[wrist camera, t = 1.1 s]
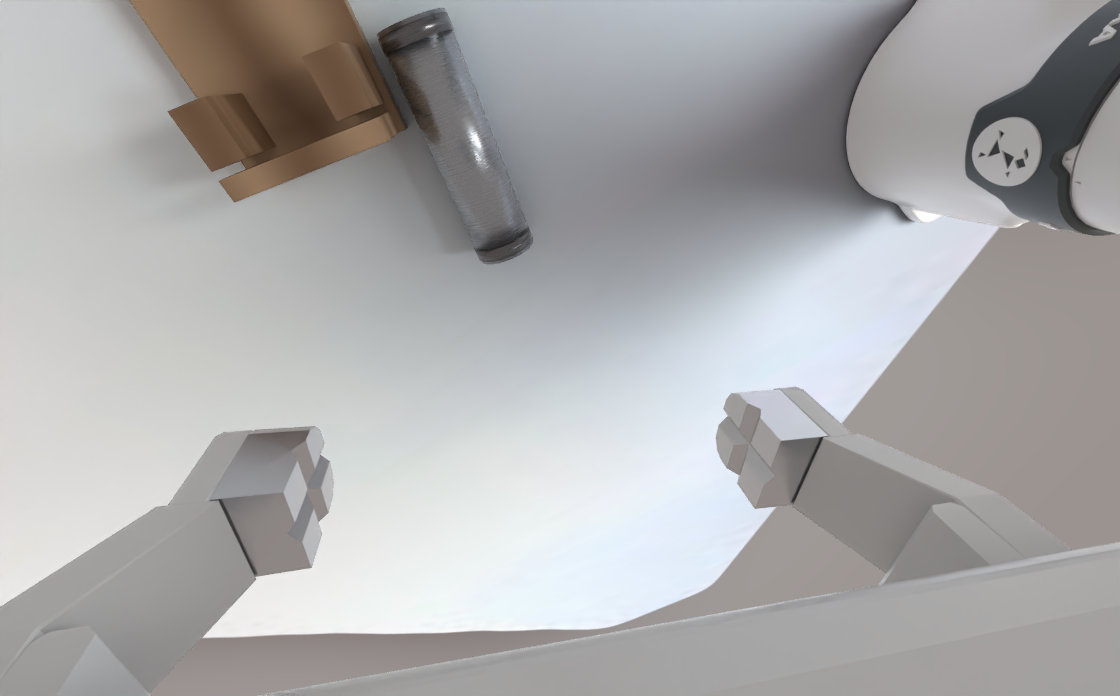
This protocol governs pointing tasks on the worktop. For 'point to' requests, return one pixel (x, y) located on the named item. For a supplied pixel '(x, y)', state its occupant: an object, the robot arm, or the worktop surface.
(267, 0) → the cradle
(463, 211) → the cylinder
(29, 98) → the worktop surface
